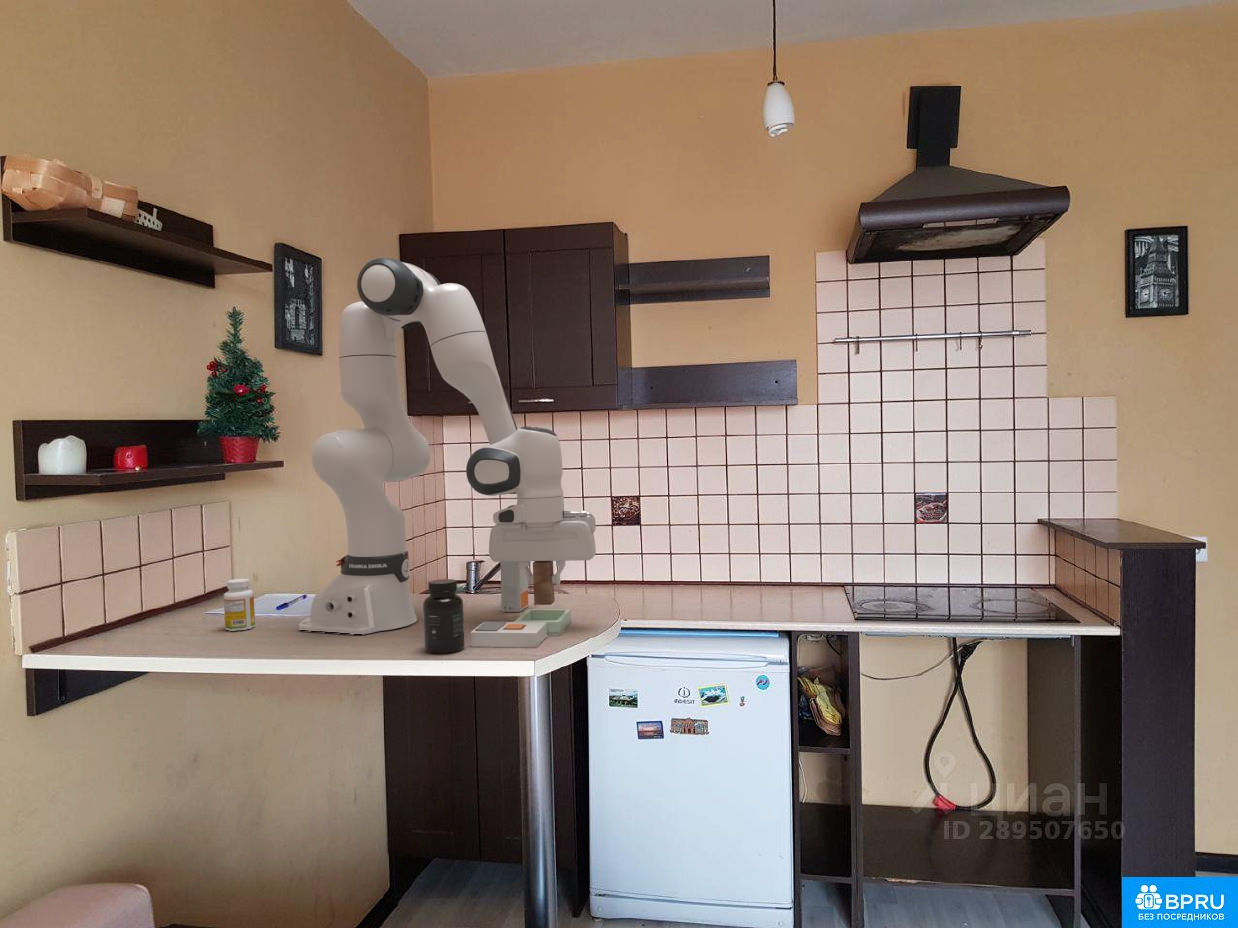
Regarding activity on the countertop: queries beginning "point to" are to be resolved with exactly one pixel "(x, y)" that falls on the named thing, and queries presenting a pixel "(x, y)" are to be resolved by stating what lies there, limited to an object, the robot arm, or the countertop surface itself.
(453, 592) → the supplement bottle
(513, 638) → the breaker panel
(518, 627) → the button
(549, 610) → the bay tray
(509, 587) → the skincare box
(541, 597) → the wooden block
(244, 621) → the supplement bottle
